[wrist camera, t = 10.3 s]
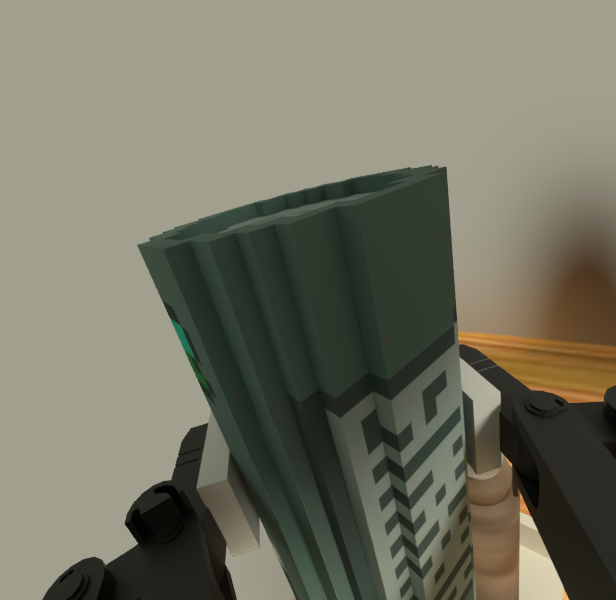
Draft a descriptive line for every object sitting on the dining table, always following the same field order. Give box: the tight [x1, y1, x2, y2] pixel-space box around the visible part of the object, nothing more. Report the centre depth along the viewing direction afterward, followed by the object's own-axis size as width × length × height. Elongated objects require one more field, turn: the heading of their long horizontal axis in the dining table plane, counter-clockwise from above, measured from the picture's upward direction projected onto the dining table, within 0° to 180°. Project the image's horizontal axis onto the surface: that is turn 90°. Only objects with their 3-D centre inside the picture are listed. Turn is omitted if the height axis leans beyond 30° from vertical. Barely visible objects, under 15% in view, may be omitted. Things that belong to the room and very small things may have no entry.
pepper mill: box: [467, 452, 520, 600], centre depth 23 cm, size 5×5×17 cm
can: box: [138, 165, 476, 600], centre depth 10 cm, size 6×6×15 cm
